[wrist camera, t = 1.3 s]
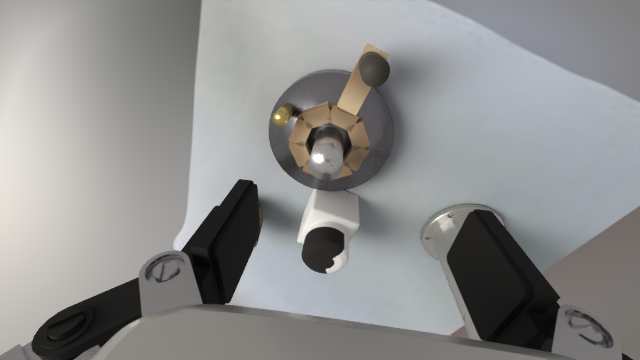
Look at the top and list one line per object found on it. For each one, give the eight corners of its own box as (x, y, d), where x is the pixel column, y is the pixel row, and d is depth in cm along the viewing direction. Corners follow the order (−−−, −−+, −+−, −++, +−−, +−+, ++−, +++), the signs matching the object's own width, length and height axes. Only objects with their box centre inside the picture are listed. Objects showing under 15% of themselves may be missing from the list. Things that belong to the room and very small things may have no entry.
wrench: (345, 183, 34) (345, 212, 29) (282, 155, 33) (269, 181, 28) (415, 69, 26) (434, 80, 21) (335, 26, 25) (332, 25, 19)
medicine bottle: (303, 212, 42) (289, 270, 32) (317, 180, 39) (306, 234, 28) (341, 225, 43) (339, 286, 33) (358, 195, 39) (362, 253, 29)
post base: (410, 146, 34) (431, 185, 26) (318, 196, 40) (310, 240, 32) (348, 39, 28) (349, 44, 20) (251, 116, 34) (219, 145, 26)
